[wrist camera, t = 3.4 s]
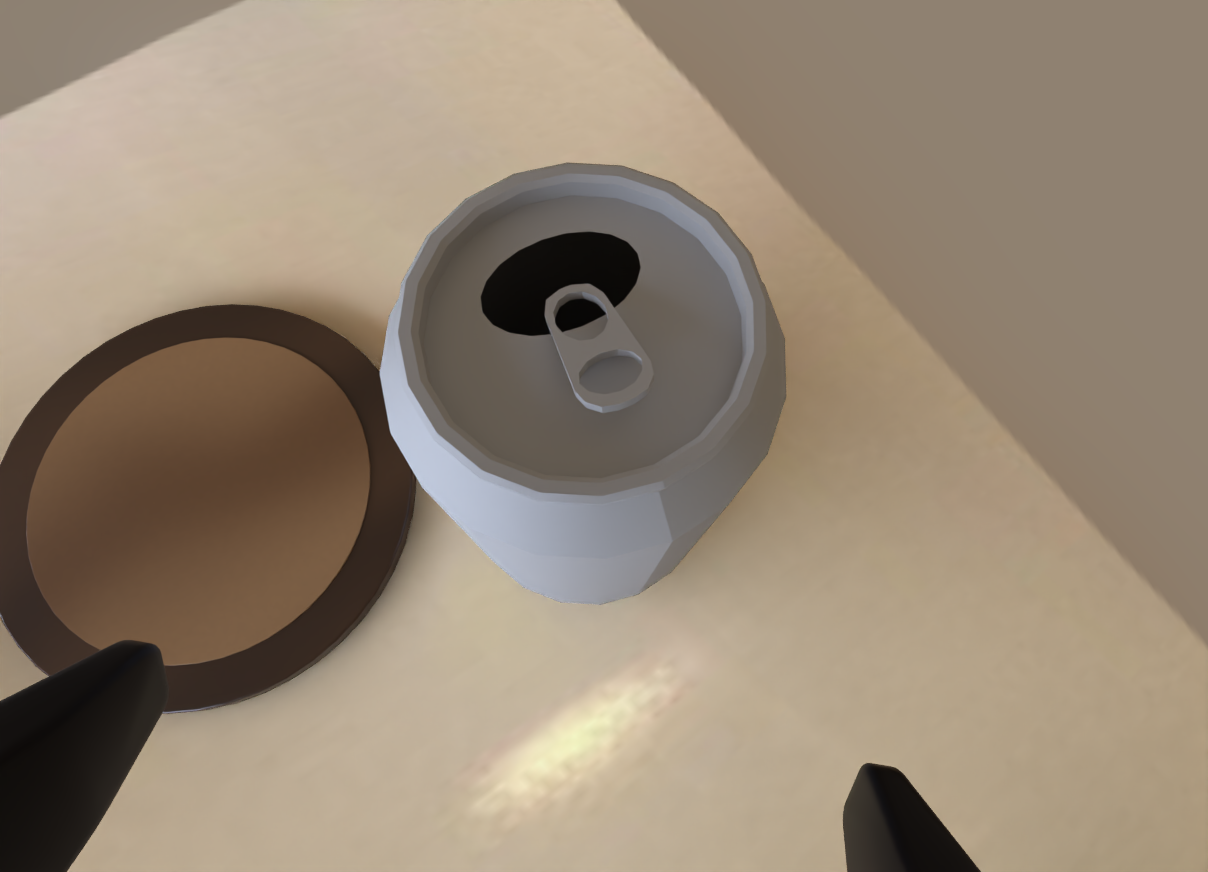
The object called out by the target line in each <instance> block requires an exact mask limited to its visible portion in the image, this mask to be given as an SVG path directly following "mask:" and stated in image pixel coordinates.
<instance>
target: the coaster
mask: <svg viewBox="0 0 1208 872" xmlns="http://www.w3.org/2000/svg"><path fill="white" fill-rule="evenodd" d="M415 494H416V476H415V474H414V472H413V471H412V469H411V467H410V466H409V464H408V462H407V460H406V459H405V457H404V455H403V454H402V452H401V450H400V448H399V447H398V445H397V443H396V442H395V440H394V438H393V436H392V435H391V433H390V428H389V422H388V417H387V411H386V406H385V400H384V395H383V389H382V384H381V379H380V372H379V371H378V370H377V368H376V367H375V366H374V365H373V364H372V363H371V362H370V360H369V359H368V358H367V357H366V356H365V355H364V354H363V353H362V352H361V351H360V350H358V349H357V348H356V347H355V346H354V345H353V344H351V343H350V342H349V341H348V340H347V339H345V338H344V337H342V336H340V335H339V334H337V333H336V332H334V331H333V330H331V329H329V328H328V327H326V326H324V325H322V324H319V323H317V322H315V321H313V320H311V319H308V318H306V317H304V316H300V315H297V314H294V313H290V312H287V311H284V310H280V309H274V308H268V307H262V306H254V305H233V304H231V305H216V306H205V307H199V308H194V309H188V310H182V311H179V312H175V313H172V314H168V315H165V316H162V317H158V318H155V319H153V320H150V321H148V322H145V323H143V324H140V325H138V326H136V327H133V328H131V329H129V330H127V331H125V332H123V333H122V334H120V335H118V336H116V337H114V338H112V339H110V340H109V341H107V342H105V343H104V344H102V345H101V346H99V347H98V348H96V349H95V350H93V351H92V352H91V353H89V354H88V355H86V356H85V357H83V358H82V359H81V360H80V361H79V362H77V363H76V364H75V365H74V366H73V367H71V368H70V369H69V370H68V371H67V372H65V373H64V374H63V375H62V376H61V377H60V378H59V379H58V380H57V381H56V382H55V383H54V384H53V385H52V386H51V387H50V389H49V390H48V391H47V392H46V393H45V394H44V395H43V396H42V397H41V398H40V400H39V401H38V402H37V404H36V405H35V406H34V407H33V409H32V410H31V411H30V413H29V414H28V415H27V417H26V418H25V420H24V421H23V423H22V424H21V426H20V428H19V429H18V431H17V433H16V434H15V436H14V438H13V439H12V441H11V443H10V445H9V447H8V449H7V451H6V453H5V456H4V458H3V460H2V462H1V464H0V616H1V619H2V621H3V623H4V625H5V627H6V628H7V630H8V631H9V633H10V635H11V636H12V638H13V639H14V641H15V642H16V644H17V646H18V647H19V648H20V649H21V650H22V651H23V652H24V654H25V655H26V656H27V657H28V658H29V659H30V660H31V661H32V662H33V663H34V665H35V666H36V667H38V668H39V669H40V670H41V671H43V672H44V673H45V674H46V675H48V676H51V675H53V674H55V673H57V672H59V671H61V670H63V669H65V668H67V667H69V666H71V665H73V664H75V663H77V662H79V661H81V660H83V659H85V658H87V657H89V656H91V655H93V654H95V653H97V652H98V651H100V650H102V649H104V648H106V647H108V646H110V645H112V644H114V643H117V642H119V641H122V640H135V641H141V642H147V643H152V644H155V645H156V646H157V647H158V648H159V649H160V651H161V654H162V659H163V663H164V668H165V672H166V676H167V681H168V685H169V697H168V701H167V704H166V707H165V709H164V711H163V714H170V713H181V712H192V711H202V710H209V709H213V708H218V707H222V706H226V705H231V704H235V703H238V702H241V701H244V700H247V699H249V698H252V697H255V696H258V695H260V694H263V693H266V692H268V691H270V690H272V689H274V688H276V687H278V686H280V685H281V684H283V683H285V682H287V681H289V680H291V679H293V678H295V677H296V676H298V675H299V674H301V673H302V672H304V671H305V670H307V669H308V668H310V667H311V666H313V665H314V664H316V663H317V662H319V661H320V660H321V659H322V658H323V657H325V656H326V655H327V654H328V653H329V652H330V651H332V650H333V649H334V648H335V647H336V646H337V645H339V644H340V643H341V642H342V641H343V640H344V639H345V638H346V637H347V636H348V635H349V634H350V632H351V631H352V630H353V629H354V628H355V627H356V626H357V625H358V624H359V623H360V622H361V621H362V620H363V618H364V617H365V616H366V614H367V613H368V611H369V610H370V609H371V607H372V606H373V605H374V603H375V602H376V600H377V599H378V598H379V596H380V595H381V593H382V591H383V590H384V588H385V586H386V584H387V582H388V581H389V579H390V577H391V575H392V573H393V572H394V570H395V568H396V565H397V563H398V560H399V558H400V555H401V553H402V550H403V548H404V546H405V543H406V539H407V535H408V532H409V528H410V524H411V520H412V517H413V509H414V501H415Z"/></svg>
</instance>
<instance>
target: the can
mask: <svg viewBox="0 0 1208 872" xmlns="http://www.w3.org/2000/svg"><path fill="white" fill-rule="evenodd" d="M380 379H381V384H382V389H383V395H384V400H385V406H386V411H387V417H388V422H389V428H390V433H391V435H392V436H393V438H394V440H395V442H396V443H397V445H398V447H399V448H400V450H401V452H402V454H403V455H404V457H405V459H406V460H407V462H408V464H409V466H410V467H411V469H412V471H413V472H414V474H415V476H416V478H417V479H418V481H419V483H420V484H421V486H422V488H423V489H424V490H425V491H426V492H427V493H428V494H429V495H430V496H431V497H432V498H433V499H434V500H435V501H436V502H437V503H438V504H439V505H440V506H441V507H442V508H443V510H444V511H445V512H446V513H447V514H448V515H449V516H450V517H451V518H452V519H453V520H454V521H455V522H456V523H457V524H458V525H459V526H460V527H461V528H462V529H463V530H464V531H465V532H466V533H467V535H468V536H469V537H470V538H471V539H472V540H473V541H474V542H475V543H476V544H477V545H478V546H479V547H480V548H481V549H482V550H483V551H484V552H485V553H486V554H487V555H488V556H489V557H490V559H491V560H492V561H493V562H494V563H496V564H497V565H498V566H499V567H500V568H501V569H503V570H504V571H505V572H506V573H507V574H508V575H510V576H511V577H512V578H513V579H514V580H515V581H517V582H518V583H519V584H520V585H521V586H523V587H524V588H526V589H528V590H531V591H533V592H536V593H538V594H541V595H543V596H546V597H548V598H551V599H554V600H556V601H559V602H564V603H581V604H599V605H601V604H604V603H608V602H612V601H615V600H619V599H623V598H626V597H630V596H634V595H637V594H640V593H641V592H643V591H644V590H646V589H647V588H649V587H650V586H652V585H653V584H655V583H656V582H658V581H659V580H661V579H662V578H664V577H665V576H667V575H668V574H670V573H671V572H672V571H673V570H674V569H675V567H676V566H677V565H678V564H679V563H680V561H681V560H682V559H683V558H684V557H685V555H686V554H687V553H688V552H689V551H690V550H691V548H692V547H693V546H694V545H695V544H696V542H697V541H698V540H699V539H700V538H701V537H702V535H703V534H704V533H705V532H706V531H707V529H708V528H709V527H710V526H711V525H712V523H713V522H714V521H715V520H716V519H717V518H718V516H719V515H720V514H721V513H722V512H723V510H724V509H725V508H726V507H727V506H728V505H729V503H730V502H731V501H732V499H733V498H734V497H735V495H736V494H737V493H738V492H739V490H740V489H741V488H742V486H743V485H744V484H745V483H746V481H747V480H748V479H749V477H750V476H751V475H752V473H753V472H754V471H755V470H756V468H757V467H758V466H759V464H760V463H761V462H762V461H763V459H764V458H765V457H766V455H767V454H768V451H769V448H770V445H771V442H772V439H773V436H774V433H775V429H776V426H777V423H778V420H779V417H780V414H781V411H782V408H783V405H784V402H785V399H786V368H785V338H784V335H783V332H782V330H781V327H780V324H779V322H778V319H777V316H776V314H775V311H774V308H773V306H772V303H771V301H770V298H769V295H768V293H767V290H766V287H765V285H764V283H763V282H762V281H761V278H760V275H759V273H758V270H757V267H756V265H755V262H754V259H753V257H752V254H751V253H750V252H749V250H748V249H747V248H746V247H745V245H744V244H743V243H742V242H741V240H740V239H739V238H738V237H737V235H736V234H735V233H734V232H733V231H732V229H731V228H730V227H729V226H728V224H727V223H726V222H725V221H724V219H723V218H722V217H721V216H720V214H719V213H718V212H716V211H715V210H713V209H712V208H710V207H709V206H707V205H706V204H704V203H703V202H701V201H700V200H698V199H697V198H696V197H694V196H693V195H691V194H690V193H688V192H687V191H685V190H684V189H682V188H681V187H679V186H678V185H676V184H675V183H673V182H670V181H667V180H664V179H661V178H658V177H655V176H652V175H649V174H646V173H643V172H640V171H637V170H634V169H631V168H628V167H625V166H619V165H601V164H583V163H563V164H559V165H554V166H549V167H544V168H539V169H535V170H530V171H525V172H520V173H516V174H513V175H511V176H509V177H507V178H505V179H503V180H501V181H499V182H497V183H495V184H493V185H491V186H489V187H488V188H486V189H484V190H482V191H480V192H478V193H476V194H474V195H472V196H470V197H468V198H466V199H465V200H464V201H463V202H462V203H461V204H460V205H459V206H458V207H457V208H456V209H455V210H453V211H452V212H451V213H450V214H449V215H448V216H447V217H446V218H445V219H444V220H443V221H442V222H441V223H440V224H439V225H438V226H437V227H436V228H435V229H434V230H433V231H432V232H431V233H429V234H428V235H427V237H426V239H425V240H424V242H423V244H422V246H421V248H420V250H419V252H418V253H417V255H416V257H415V259H414V261H413V263H412V264H411V266H410V268H409V270H408V272H407V274H406V276H405V277H404V279H403V281H402V283H401V289H400V296H399V299H398V300H397V302H396V304H395V306H394V308H393V310H392V312H391V313H390V315H389V320H388V326H387V332H386V338H385V344H384V350H383V356H382V362H381V368H380Z"/></svg>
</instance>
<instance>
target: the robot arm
mask: <svg viewBox="0 0 1208 872" xmlns="http://www.w3.org/2000/svg"><path fill="white" fill-rule="evenodd" d="M168 697H169V685H168V681H167V676H166V672H165V668H164V663H163V659H162V654H161V651H160V649H159V648H158V647H157V646H156V645H155V644H152V643H147V642H141V641H135V640H122V641H119V642H117V643H114V644H112V645H110V646H108V647H106V648H104V649H102V650H100V651H98V652H97V653H95V654H93V655H91V656H89V657H87V658H85V659H83V660H81V661H79V662H77V663H75V664H73V665H71V666H69V667H67V668H65V669H63V670H61V671H59V672H57V673H55V674H53V675H51V676H49V677H47V678H45V679H43V680H41V681H39V682H37V683H35V684H33V685H31V686H29V687H27V688H25V689H23V690H21V691H19V692H17V693H15V694H13V695H11V696H9V697H7V698H5V699H3V700H1V701H0V872H67V871H68V869H69V868H70V866H71V865H72V863H73V862H74V860H75V859H76V857H77V856H78V855H79V853H80V852H81V850H82V849H83V847H84V846H85V844H86V843H87V841H88V840H89V838H90V837H91V835H92V834H93V832H94V831H95V829H96V828H97V826H98V825H99V823H100V821H101V820H102V818H103V816H104V815H105V813H106V811H107V810H108V808H109V806H110V805H111V803H112V801H113V799H114V798H115V796H116V794H117V792H118V790H119V789H120V787H121V785H122V783H123V782H124V780H125V778H126V776H127V775H128V773H129V771H130V769H131V767H132V766H133V764H134V762H135V760H136V759H137V757H138V755H139V753H140V752H141V750H142V748H143V746H144V744H145V743H146V741H147V739H148V737H149V736H150V734H151V732H152V730H153V728H154V727H155V725H156V723H157V721H158V720H159V718H160V716H161V714H162V713H163V711H164V709H165V707H166V704H167V701H168ZM843 829H844V840H845V852H846V863H847V872H981V871H980V870H979V869H978V867H977V866H976V865H975V864H974V862H973V861H972V860H971V859H970V857H969V856H968V855H967V854H966V852H965V851H964V850H963V849H962V847H961V846H960V845H959V843H958V842H957V841H956V840H955V838H954V837H953V836H952V835H951V833H950V832H949V831H948V830H947V828H946V827H945V826H944V825H943V823H942V822H941V821H940V819H939V818H938V817H937V816H936V814H935V813H934V812H933V811H932V809H931V808H930V807H929V806H928V804H927V803H926V802H925V801H924V799H923V798H922V797H921V795H920V794H919V793H918V792H917V790H916V789H915V788H914V787H913V785H912V784H911V783H910V782H909V780H908V779H907V778H906V777H905V775H904V774H903V773H902V772H901V771H899V770H898V769H897V768H894V767H890V766H884V765H878V764H872V763H866V764H864V765H863V766H862V767H861V769H860V770H859V772H858V775H857V777H856V779H855V782H854V784H853V786H852V789H851V791H850V793H849V796H848V798H847V800H846V803H845V806H844V812H843Z"/></svg>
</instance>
